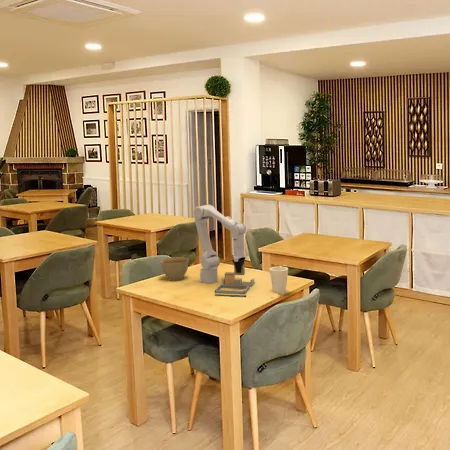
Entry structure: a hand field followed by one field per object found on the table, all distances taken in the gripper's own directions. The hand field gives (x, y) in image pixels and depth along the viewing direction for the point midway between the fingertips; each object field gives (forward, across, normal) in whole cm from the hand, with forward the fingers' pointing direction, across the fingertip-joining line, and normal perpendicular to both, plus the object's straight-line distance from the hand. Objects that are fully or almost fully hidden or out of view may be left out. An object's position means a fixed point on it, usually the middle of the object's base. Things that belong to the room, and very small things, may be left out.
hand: (239, 271), depth 296 cm
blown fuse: (+1, 0, 0) cm, 1 cm away
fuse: (+8, +6, +7) cm, 12 cm away
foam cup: (+10, -3, -22) cm, 24 cm away
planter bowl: (+10, +19, +43) cm, 48 cm away
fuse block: (+10, +6, +2) cm, 12 cm away
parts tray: (+10, -7, +2) cm, 12 cm away
